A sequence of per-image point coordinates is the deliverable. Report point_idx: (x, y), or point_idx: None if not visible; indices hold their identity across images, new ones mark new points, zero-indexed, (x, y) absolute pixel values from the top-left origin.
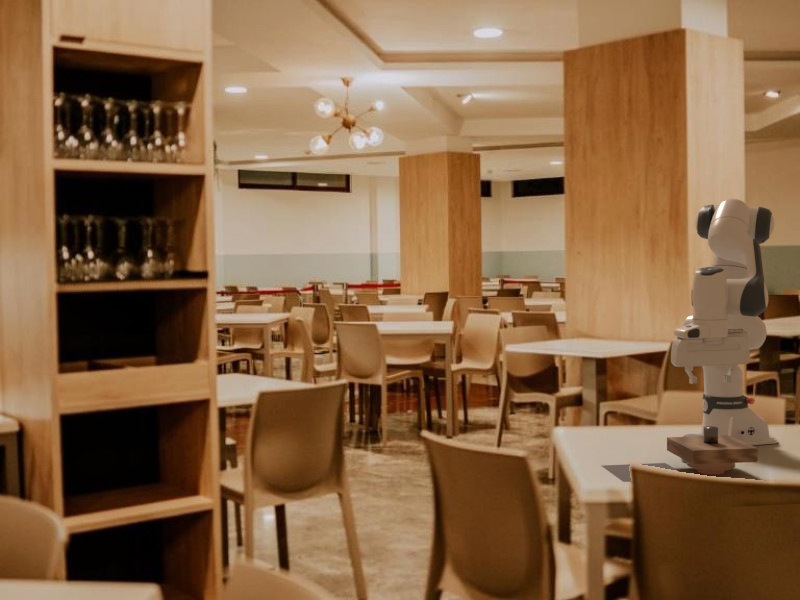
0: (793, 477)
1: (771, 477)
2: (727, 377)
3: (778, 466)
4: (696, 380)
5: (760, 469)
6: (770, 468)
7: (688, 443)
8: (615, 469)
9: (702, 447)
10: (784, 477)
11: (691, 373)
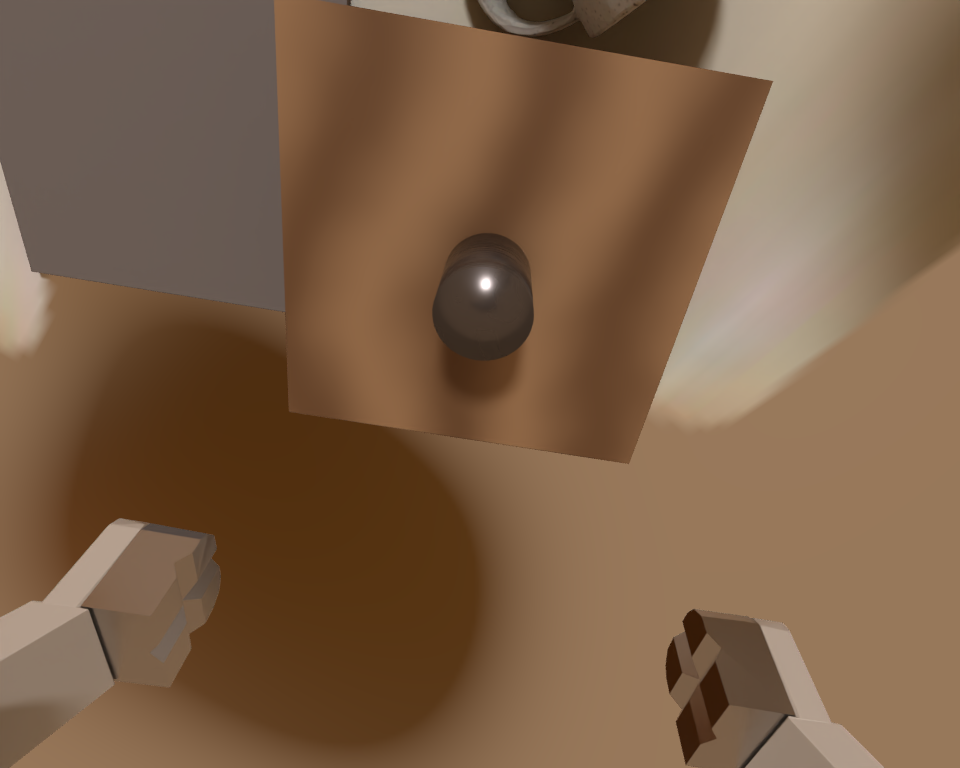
0: (762, 399)
1: (683, 373)
2: (690, 734)
3: (903, 212)
4: (186, 632)
5: (765, 238)
6: (827, 236)
7: (341, 252)
8: (7, 15)
9: (371, 367)
10: (730, 388)
11: (13, 749)
